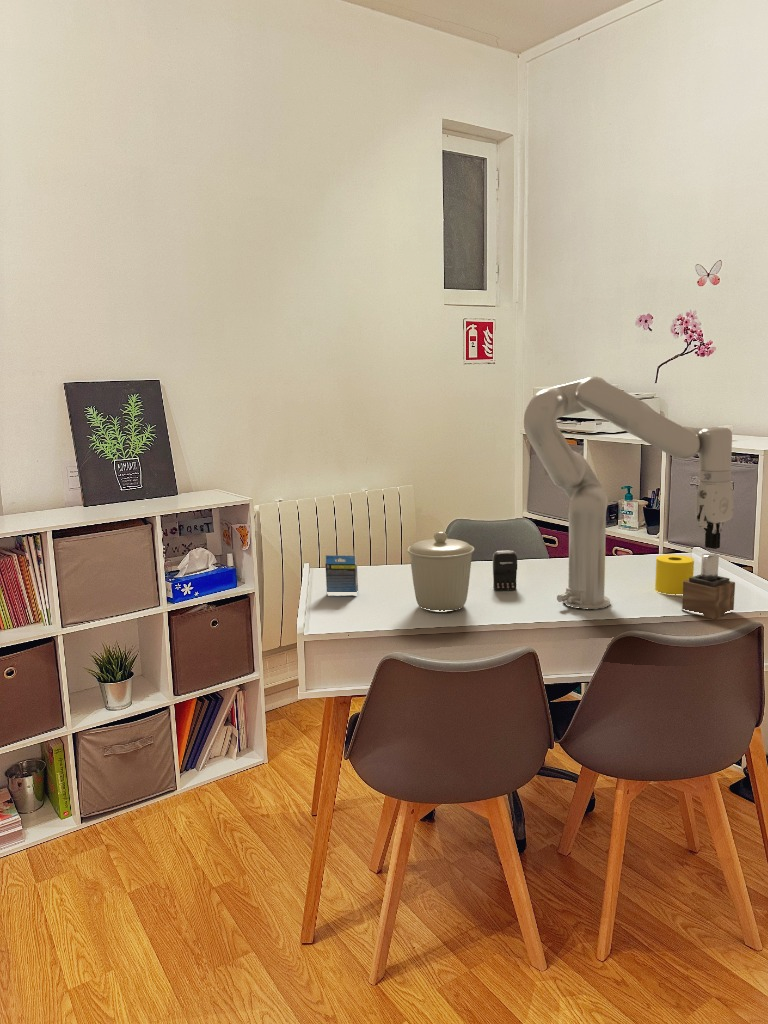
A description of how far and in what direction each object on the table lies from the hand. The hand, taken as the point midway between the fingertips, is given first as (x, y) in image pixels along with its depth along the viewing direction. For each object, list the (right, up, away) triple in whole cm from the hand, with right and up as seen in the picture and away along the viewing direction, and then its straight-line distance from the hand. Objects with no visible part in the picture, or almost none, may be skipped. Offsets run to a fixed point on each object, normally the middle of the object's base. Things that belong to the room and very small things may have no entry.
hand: (712, 547), depth 204 cm
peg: (0, -10, +2) cm, 10 cm away
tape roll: (-2, -14, +23) cm, 26 cm away
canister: (-69, -17, +13) cm, 72 cm away
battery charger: (-49, -14, +28) cm, 58 cm away
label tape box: (-96, -15, +28) cm, 101 cm away
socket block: (0, -17, +3) cm, 17 cm away
